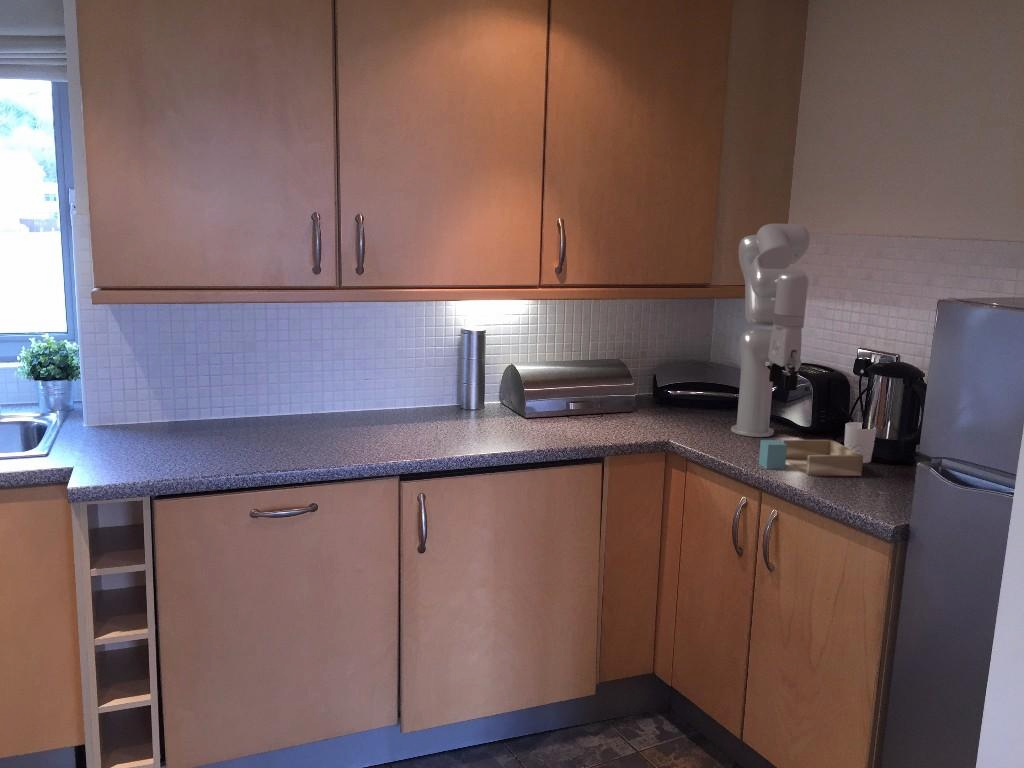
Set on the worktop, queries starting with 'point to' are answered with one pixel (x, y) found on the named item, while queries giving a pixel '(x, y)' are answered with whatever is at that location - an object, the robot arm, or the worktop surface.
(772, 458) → the teal block
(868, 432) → the white cup
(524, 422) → the worktop surface
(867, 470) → the worktop surface
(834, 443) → the birch box
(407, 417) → the worktop surface
